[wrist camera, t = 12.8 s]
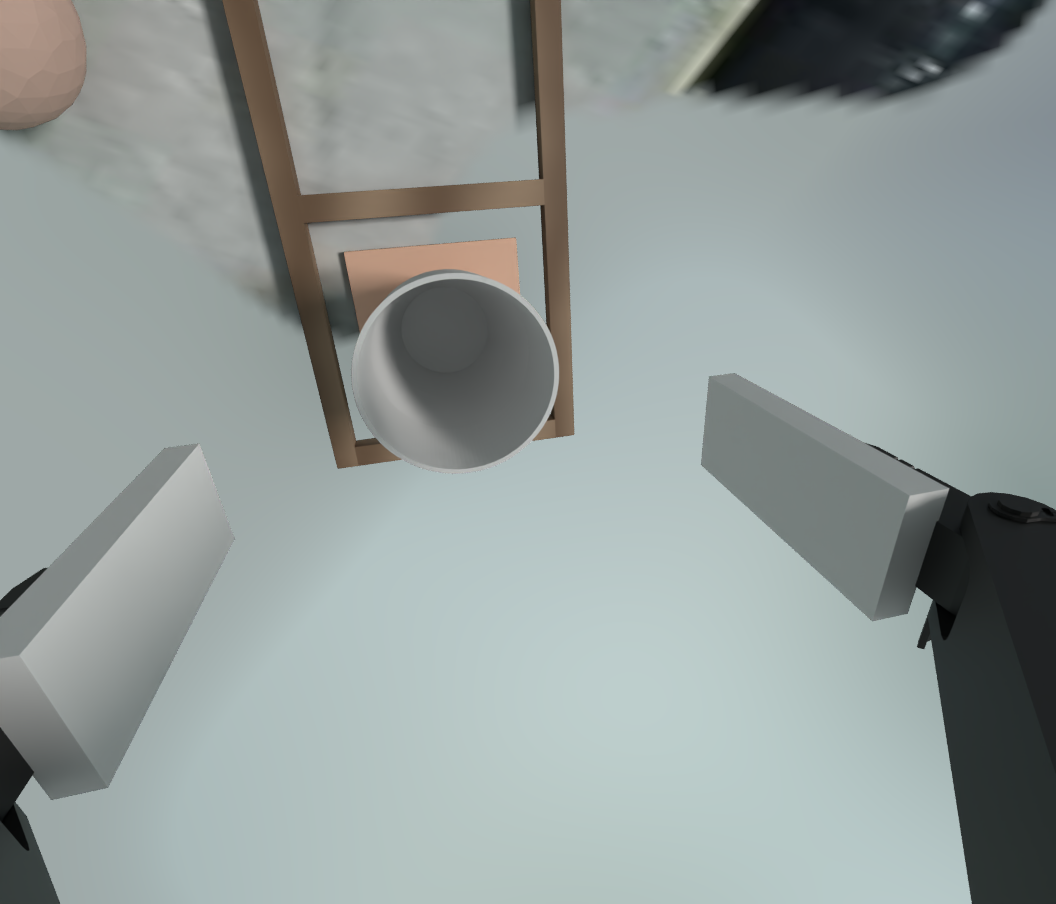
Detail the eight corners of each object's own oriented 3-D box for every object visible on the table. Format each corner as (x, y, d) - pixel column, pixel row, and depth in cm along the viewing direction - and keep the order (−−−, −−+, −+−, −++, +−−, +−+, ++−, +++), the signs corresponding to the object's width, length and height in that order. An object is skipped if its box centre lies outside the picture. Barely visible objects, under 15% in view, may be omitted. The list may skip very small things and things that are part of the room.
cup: (402, 416, 31) (398, 498, 22) (344, 279, 28) (313, 313, 19) (531, 373, 32) (578, 437, 23) (492, 233, 28) (529, 244, 19)
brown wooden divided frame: (339, 461, 32) (337, 468, 31) (182, -185, 20) (172, -203, 19) (570, 429, 34) (574, 434, 33) (549, -172, 22) (554, -188, 22)
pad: (376, 413, 31) (376, 415, 31) (344, 251, 28) (343, 252, 27) (526, 394, 33) (527, 396, 32) (515, 237, 29) (516, 237, 29)
